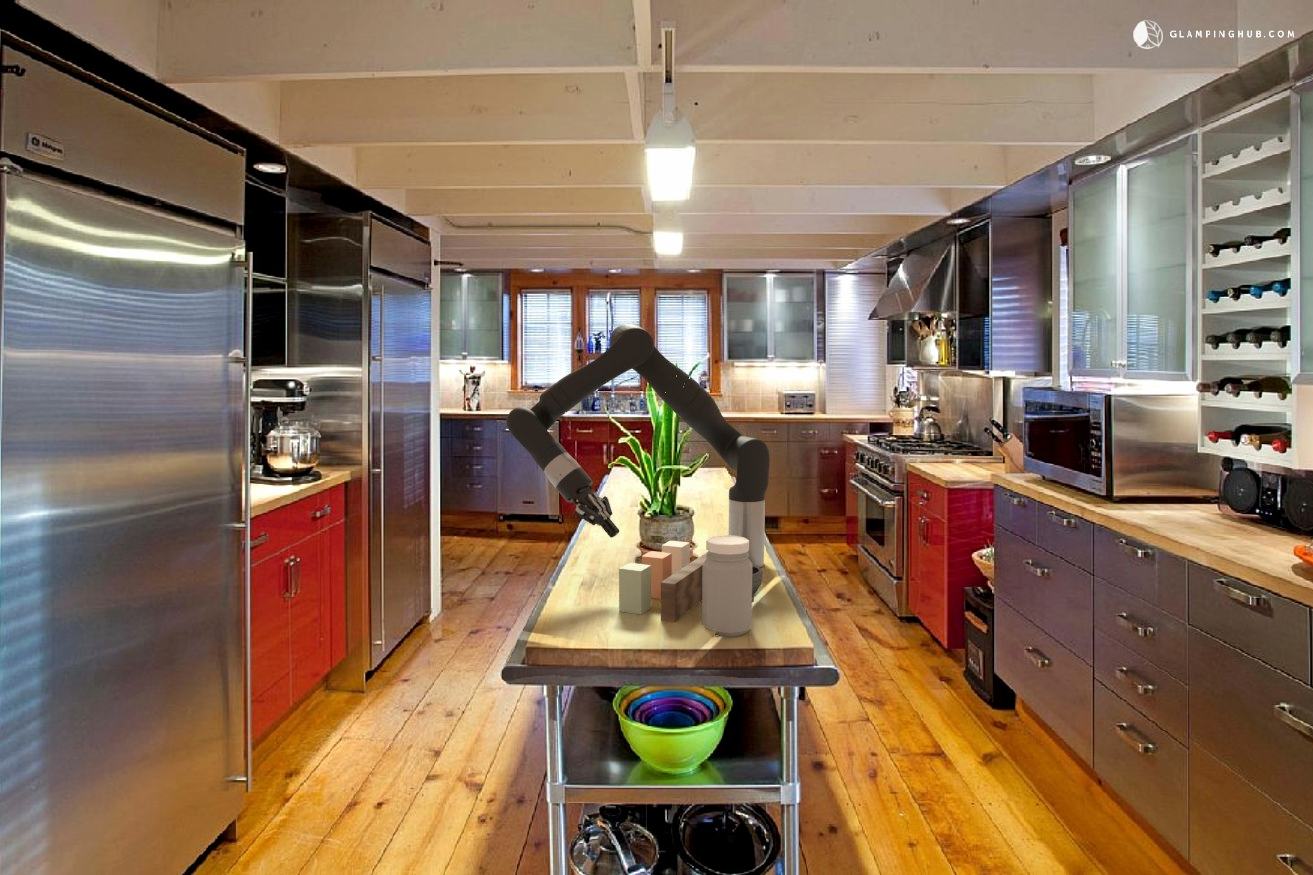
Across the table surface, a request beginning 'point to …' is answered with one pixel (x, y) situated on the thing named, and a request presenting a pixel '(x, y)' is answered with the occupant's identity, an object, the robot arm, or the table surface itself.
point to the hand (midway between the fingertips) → (615, 534)
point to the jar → (727, 586)
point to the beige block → (678, 554)
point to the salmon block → (658, 570)
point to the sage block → (635, 588)
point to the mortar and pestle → (756, 579)
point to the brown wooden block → (682, 590)
